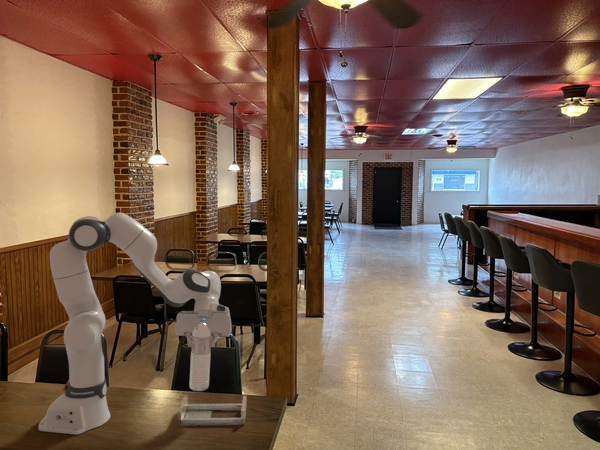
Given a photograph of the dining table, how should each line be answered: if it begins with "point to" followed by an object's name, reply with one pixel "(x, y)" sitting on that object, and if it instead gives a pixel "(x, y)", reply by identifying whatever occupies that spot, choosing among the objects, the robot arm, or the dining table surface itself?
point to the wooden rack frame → (208, 414)
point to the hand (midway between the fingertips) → (201, 346)
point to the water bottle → (200, 356)
